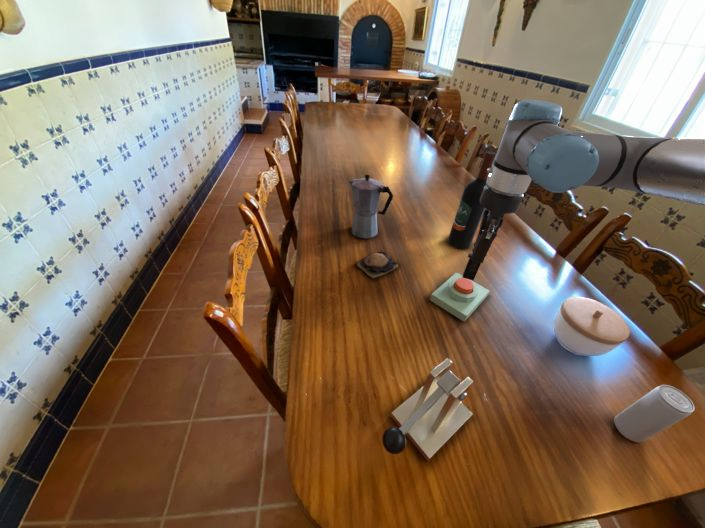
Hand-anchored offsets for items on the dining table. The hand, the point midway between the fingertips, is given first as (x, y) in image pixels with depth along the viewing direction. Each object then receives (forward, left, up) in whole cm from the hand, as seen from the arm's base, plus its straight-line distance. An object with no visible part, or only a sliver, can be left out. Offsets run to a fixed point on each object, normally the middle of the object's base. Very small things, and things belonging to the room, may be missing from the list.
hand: (468, 277), depth 74 cm
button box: (0, 0, -8) cm, 8 cm away
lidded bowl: (-2, -27, -8) cm, 28 cm away
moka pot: (+17, +34, -8) cm, 39 cm away
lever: (-38, +2, 0) cm, 38 cm away
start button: (0, 0, -4) cm, 4 cm away
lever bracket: (-34, 0, -8) cm, 35 cm away
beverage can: (-20, -34, -8) cm, 40 cm away
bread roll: (+2, +24, -8) cm, 25 cm away
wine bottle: (+27, +4, -8) cm, 29 cm away
